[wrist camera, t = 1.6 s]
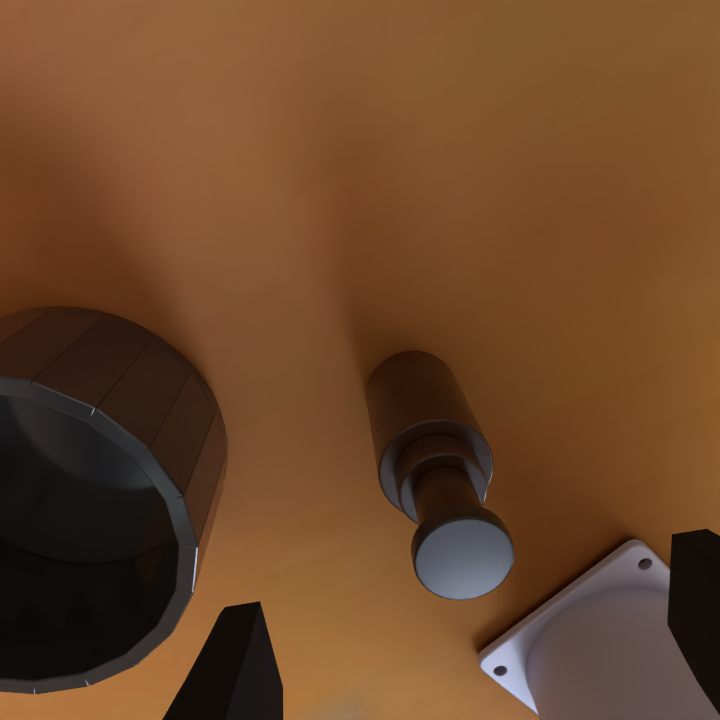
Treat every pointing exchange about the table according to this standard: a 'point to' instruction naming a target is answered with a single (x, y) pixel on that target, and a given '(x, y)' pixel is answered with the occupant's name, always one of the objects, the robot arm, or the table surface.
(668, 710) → the robot arm
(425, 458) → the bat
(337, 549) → the table surface
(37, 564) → the brown round cylinder
